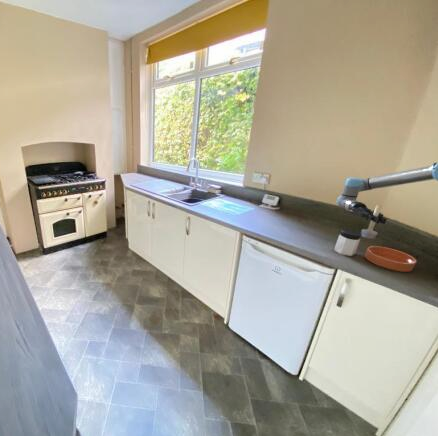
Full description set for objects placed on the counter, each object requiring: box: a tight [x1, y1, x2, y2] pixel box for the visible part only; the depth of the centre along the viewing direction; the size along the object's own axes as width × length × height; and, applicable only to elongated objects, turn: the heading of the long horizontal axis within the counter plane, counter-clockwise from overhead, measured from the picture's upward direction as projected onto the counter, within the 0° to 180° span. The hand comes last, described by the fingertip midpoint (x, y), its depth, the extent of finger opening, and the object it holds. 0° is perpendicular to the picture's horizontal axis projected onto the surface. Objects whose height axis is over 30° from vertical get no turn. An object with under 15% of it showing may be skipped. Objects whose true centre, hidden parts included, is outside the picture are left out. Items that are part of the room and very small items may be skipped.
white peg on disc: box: [360, 204, 382, 240], centre depth 125 cm, size 6×6×18 cm
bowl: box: [364, 245, 418, 273], centre depth 117 cm, size 17×17×5 cm
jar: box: [333, 228, 362, 257], centre depth 125 cm, size 9×8×12 cm
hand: (381, 221), depth 119 cm, fingers closed on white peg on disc, 2 cm apart
